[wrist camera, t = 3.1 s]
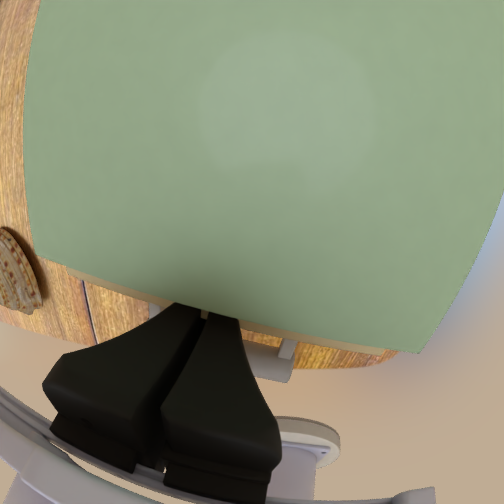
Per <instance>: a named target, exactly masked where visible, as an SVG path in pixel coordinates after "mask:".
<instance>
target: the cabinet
mask: <svg viewBox="0 0 504 504" xmlns="http://www.w3.org/2000/svg"><path fill="white" fill-rule="evenodd" d="M23 160H24V177H25V189H26V198H27V207H28V214H29V221H30V228H31V234H32V239H33V244H34V250H35V254H36V255H38V256H41V257H43V258H46V259H48V260H51V261H53V262H56V263H59V264H61V265H64V266H67V267H69V268H72V269H75V270H78V271H81V272H83V273H86V274H89V275H92V276H95V277H98V278H100V279H103V280H106V281H109V282H112V283H115V284H118V285H121V286H125V287H128V288H131V289H134V290H137V291H140V292H143V293H147V294H150V295H153V296H156V297H160V298H163V299H166V300H170V301H173V302H177V303H180V304H184V305H187V306H191V307H194V308H198V309H202V310H205V311H209V312H213V313H217V314H221V315H224V316H228V317H232V318H236V319H240V320H244V321H248V322H253V323H257V324H261V325H265V326H270V327H274V328H278V329H283V330H287V331H292V332H297V333H301V334H306V335H311V336H316V337H321V338H326V339H331V340H337V341H342V342H348V343H353V344H359V345H365V346H371V347H377V348H383V349H390V350H396V351H403V352H411V353H420V352H421V351H422V349H423V348H424V346H425V345H426V343H427V342H428V340H429V339H430V338H431V336H432V335H433V333H434V332H435V330H436V328H437V327H438V325H439V324H440V322H441V320H442V319H443V317H444V316H445V314H446V313H447V311H448V309H449V307H450V306H451V304H452V303H453V301H454V299H455V297H456V296H457V294H458V292H459V290H460V288H461V287H462V285H463V283H464V281H465V279H466V277H467V275H468V274H469V272H470V269H471V267H472V266H473V264H474V262H475V259H476V258H477V255H478V253H479V251H480V249H481V247H482V244H483V242H484V240H485V238H486V236H487V233H488V231H489V229H490V226H491V224H492V221H493V219H494V216H495V213H496V211H497V208H498V206H499V203H500V200H501V197H502V194H503V191H504V0H41V3H40V7H39V10H38V14H37V18H36V23H35V27H34V32H33V36H32V42H31V47H30V53H29V59H28V67H27V75H26V84H25V95H24V112H23Z"/></svg>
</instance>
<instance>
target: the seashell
mask: <svg viewBox="0 0 504 504" xmlns="http://www.w3.org/2000/svg"><path fill="white" fill-rule="evenodd" d="M0 305H2V306H6V307H7V308H9V309H11V310H18V311H20V312H23V313H25V314H27V315H31V314H33V311H34V309H39V308H41V307H42V306H43V303H42V298H41V294H40V291H39V289H38V284H37V281H36V278H35V276H34V273H33V271H32V268H31V266H30V264H29V262H28V260H27V258H26V256H25V254H24V253H23V251H22V249H21V248H20V246H19V245H18V243H17V242H16V241H15V239H14V238H13V236H12V235H11V234H10V233H9V232H8V231H6V230H5V229H2V228H0Z"/></svg>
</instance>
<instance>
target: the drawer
mask: <svg viewBox="0 0 504 504" xmlns="http://www.w3.org/2000/svg"><path fill="white" fill-rule="evenodd" d="M66 269H67V273H68V275H71V276H73V277H76V278H79V279H81V280H84V281H87V282H89V283H92V284H95V285H98V286H101V287H103V288H106V289H109V290H112V291H115V292H118V293H121V294H124V295H127V296H130V297H133V298H136V299H139V300H142V301H145V302H148V303H149V318H148V320H149V319H151V318H153V317H154V316H156V315H157V314H159V313H160V312H161V311H163V310H164V309H165V308H167V307H168V306H170V305H171V304H172V303H174V302H173V301H170V300H166V299H163V298H160V297H156V296H153V295H150V294H147V293H143V292H140V291H137V290H134V289H131V288H128V287H125V286H121V285H118V284H115V283H112V282H109V281H106V280H103V279H100V278H98V277H95V276H92V275H89V274H86V273H83V272H81V271H78V270H75V269H72V268H69V267H67V266H66ZM208 313H209V311H205V310H202V309H201V318H203V319H207V316H208ZM148 320H147V321H148ZM238 320H239V325H240V328H241V329H245V330H249V331H254V332H258V333H262V334H266V335H271V336H275V337H280V338H282V341H281V344H280V347H279V348H278V347H274V346H269V345H265V344H260V343H256V342H252V341H248V340H243V339H242V340H243V344H244V348H245V352H246V355H247V359H248V362H249V365H250V367H251V370H252V373H253V375H254V377H259V378H264V379H268V380H273V381H278V382H283V383H287V382H288V381H289V379H290V376H291V373H292V370H293V366H294V360H295V352H294V350H295V348H296V345H297V343H298V341H299V342H303V343H308V344H313V345H319V346H324V347H329V348H335V349H340V350H346V351H352V352H358V353H364V354H370V355H377V356H381V355H382V353H383V352H384V350H385V349H383V348H377V347H371V346H365V345H359V344H353V343H348V342H342V341H337V340H331V339H326V338H321V337H316V336H311V335H306V334H301V333H297V332H292V331H287V330H283V329H278V328H274V327H270V326H265V325H261V324H257V323H253V322H248V321H244V320H240V319H238Z"/></svg>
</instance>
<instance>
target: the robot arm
mask: <svg viewBox="0 0 504 504" xmlns="http://www.w3.org/2000/svg"><path fill="white" fill-rule="evenodd" d="M42 387H43V391H44V392H45V394H46V396H47V397H48V399H49V400H50V402H51V403H52V405H53V406H54V407H55V409H56V410H57V411H58V414H57V416H56V417H55V419H54V421H53V422H51V421H50V420H48V419H47V418H45V417H43V416H42V415H40V414H39V413H37V412H35V411H34V410H33V409H31V408H30V407H28V406H27V405H25V404H24V403H22V402H21V401H20V400H18V399H16V398H15V397H14V396H13V395H11V394H10V393H9V392H7V391H6V390H5V389H3V388H2V387H1V386H0V458H1V459H2V460H3V461H5V462H6V463H7V464H8V465H9V466H10V467H12V468H13V469H14V470H15V471H17V472H18V473H17V475H16V477H15V479H14V481H13V483H12V485H11V487H10V489H9V491H8V494H7V496H6V498H5V500H4V502H3V504H163V503H161V502H158V501H155V500H152V499H150V498H147V497H144V496H142V495H139V494H137V493H134V492H132V491H129V490H127V489H125V488H122V487H120V486H117V485H115V484H113V483H111V482H108V481H106V480H104V479H102V478H100V477H98V476H96V475H93V474H91V473H89V472H87V471H86V470H85V469H83V468H82V467H80V466H79V465H78V464H76V463H75V462H74V461H73V460H72V459H71V458H70V457H69V456H68V454H66V453H65V452H63V451H62V450H60V449H59V448H57V447H56V446H55V445H57V446H58V447H60V448H62V449H63V450H65V451H67V452H68V453H70V454H72V455H74V456H76V457H78V458H79V459H81V460H83V461H85V462H87V463H89V464H91V465H93V466H95V467H97V468H99V469H101V470H104V471H105V472H108V473H110V474H112V475H114V476H117V477H119V478H121V479H124V480H126V481H129V482H131V483H134V484H136V485H139V486H141V487H144V488H147V489H150V490H152V491H155V492H158V493H161V494H164V495H167V496H171V497H174V498H178V499H181V500H184V501H188V502H192V503H196V504H436V500H435V488H434V487H427V488H422V489H415V490H409V491H406V492H402V493H399V494H397V495H395V496H394V497H393V498H383V499H372V500H371V499H370V500H351V501H321V500H318V501H317V500H313V497H314V485H315V472H316V464H317V463H318V462H319V461H320V460H321V459H322V458H323V457H324V456H325V455H327V454H328V453H329V452H330V451H331V448H330V447H329V446H320V445H311V444H303V443H295V442H288V441H282V440H281V436H280V431H279V426H278V422H277V420H276V419H275V417H274V416H273V414H272V412H271V410H270V409H269V407H268V405H267V403H266V401H265V399H264V397H263V395H262V393H261V391H260V389H259V387H258V385H257V382H256V380H255V378H254V375H253V373H252V370H251V367H250V365H249V362H248V359H247V355H246V352H245V348H244V344H243V340H242V336H241V330H240V325H239V320H238V319H236V318H232V317H228V316H224V315H221V314H217V313H213V312H209V313H208V316H207V319H203V318H201V309H198V308H194V307H191V306H187V305H184V304H180V303H177V302H174V303H172V304H171V305H170V306H168V307H167V308H165V309H164V310H163V311H161V312H160V313H159V314H157V315H156V316H154V317H153V318H151V319H149V320H148V321H146V322H144V323H143V324H141V325H139V326H138V327H136V328H134V329H132V330H130V331H128V332H126V333H124V334H122V335H120V336H118V337H115V338H113V339H111V340H108V341H105V342H103V343H100V344H98V345H95V346H92V347H89V348H85V349H81V350H78V351H74V352H70V353H66V354H63V355H62V356H61V358H60V359H59V360H58V361H57V362H56V364H55V365H54V366H53V368H52V369H51V371H50V372H49V374H48V375H47V377H46V378H45V380H44V381H43V383H42ZM49 441H50V442H52V443H53V444H55V445H53V444H52V443H50V442H49ZM165 467H166V473H163V472H164V469H165Z"/></svg>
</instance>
